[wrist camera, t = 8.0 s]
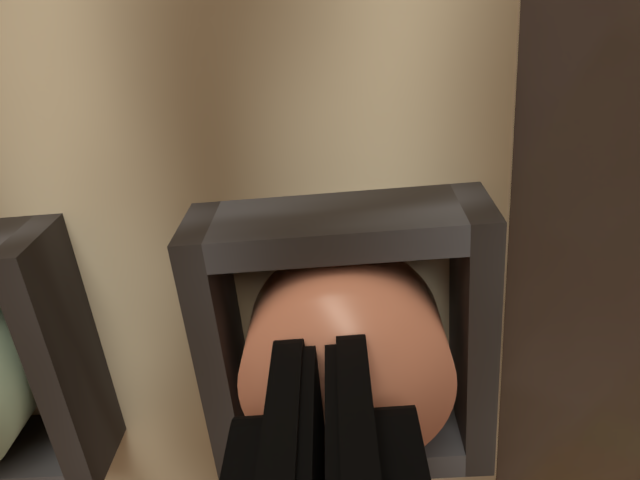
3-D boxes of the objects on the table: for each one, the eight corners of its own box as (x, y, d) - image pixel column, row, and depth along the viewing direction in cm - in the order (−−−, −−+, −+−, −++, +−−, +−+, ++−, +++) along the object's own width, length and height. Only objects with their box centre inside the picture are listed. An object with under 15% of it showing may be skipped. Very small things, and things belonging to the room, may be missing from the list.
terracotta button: (439, 237, 12) (458, 289, 10) (439, 397, 13) (455, 465, 12) (238, 251, 12) (221, 305, 10) (263, 407, 14) (253, 476, 12)
